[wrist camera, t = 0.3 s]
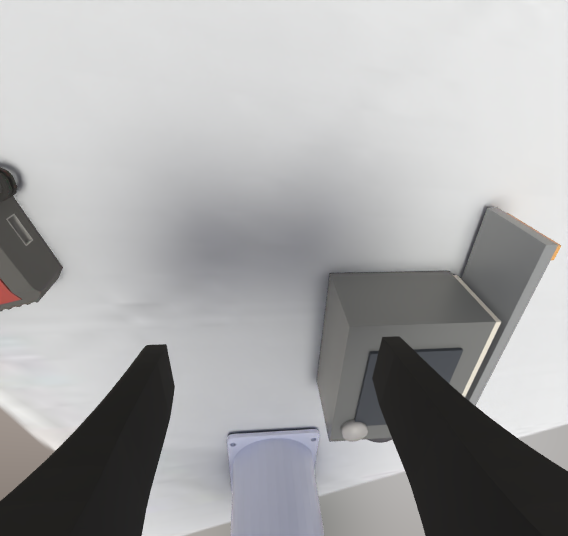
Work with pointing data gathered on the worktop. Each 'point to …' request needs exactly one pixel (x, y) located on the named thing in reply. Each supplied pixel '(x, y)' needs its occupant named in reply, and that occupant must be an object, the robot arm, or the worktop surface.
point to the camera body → (387, 323)
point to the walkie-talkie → (22, 253)
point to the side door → (504, 279)
